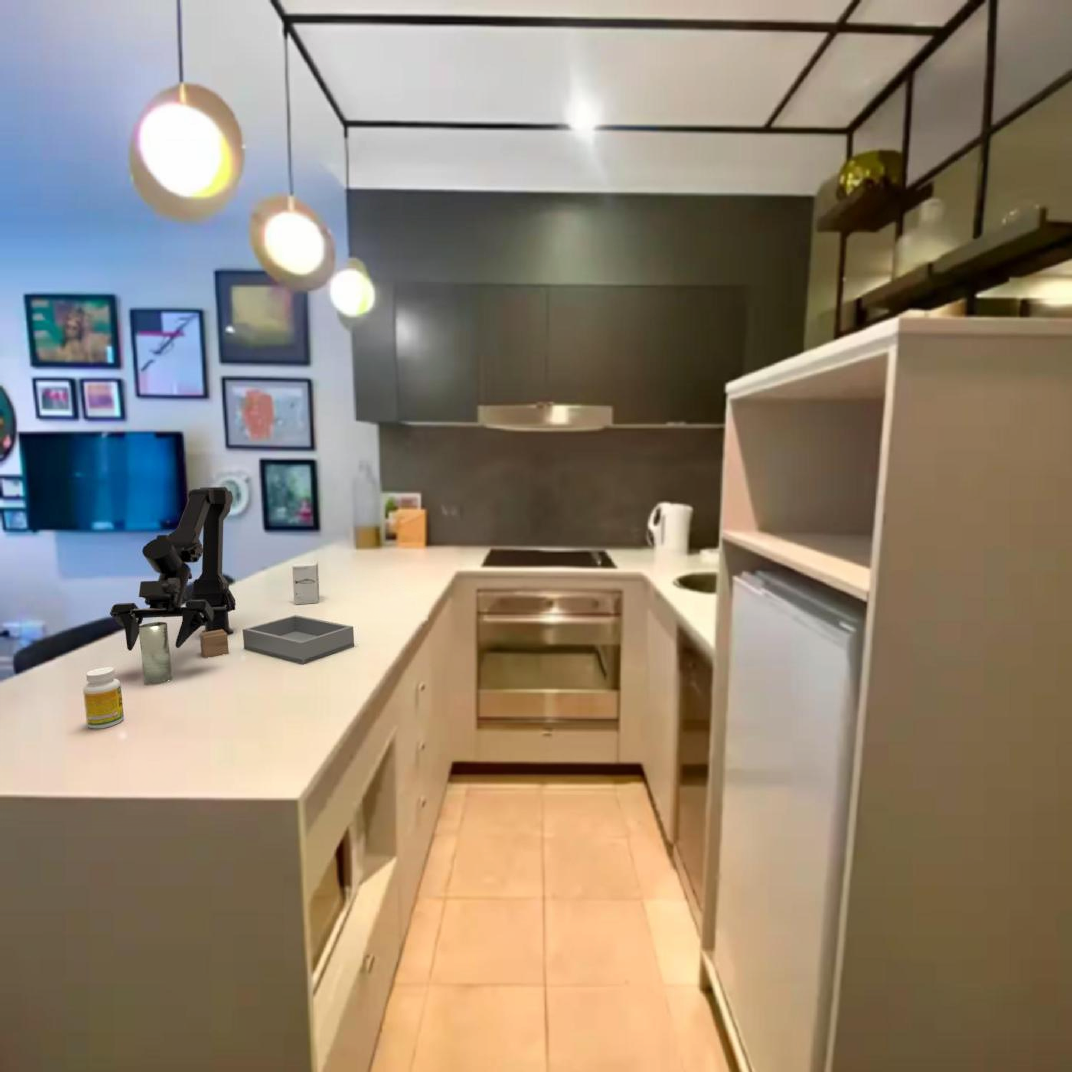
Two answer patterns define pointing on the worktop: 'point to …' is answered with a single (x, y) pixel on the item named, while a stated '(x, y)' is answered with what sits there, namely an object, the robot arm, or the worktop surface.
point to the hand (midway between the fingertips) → (153, 648)
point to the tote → (298, 638)
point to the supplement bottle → (103, 698)
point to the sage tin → (155, 652)
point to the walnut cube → (214, 643)
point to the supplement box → (305, 582)
